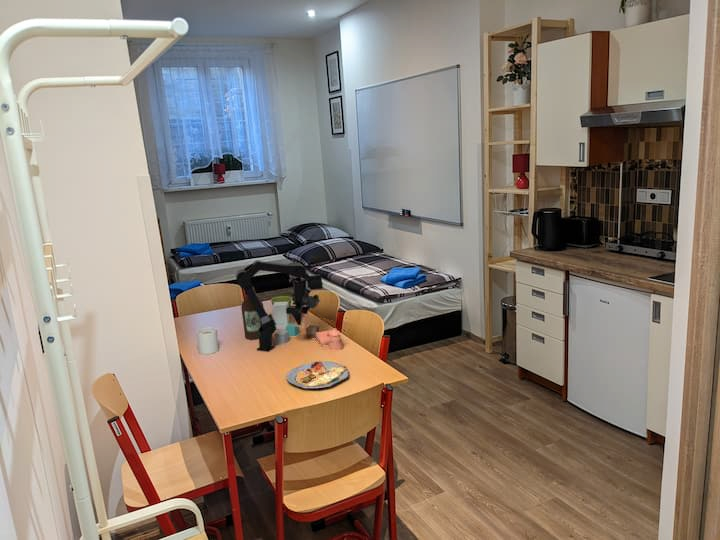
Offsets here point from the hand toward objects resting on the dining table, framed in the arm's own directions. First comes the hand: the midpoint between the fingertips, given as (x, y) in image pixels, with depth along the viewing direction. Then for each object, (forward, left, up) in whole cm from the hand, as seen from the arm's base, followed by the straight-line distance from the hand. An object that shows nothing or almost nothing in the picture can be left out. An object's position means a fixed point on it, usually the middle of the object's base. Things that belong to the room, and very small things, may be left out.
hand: (301, 323), depth 257 cm
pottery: (+3, -13, -11) cm, 17 cm away
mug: (-19, +39, -11) cm, 45 cm away
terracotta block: (0, 0, -1) cm, 1 cm away
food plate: (-33, -23, -11) cm, 42 cm away
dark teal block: (+11, +11, -10) cm, 19 cm away
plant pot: (+32, +28, -11) cm, 44 cm away
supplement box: (+20, +22, -11) cm, 32 cm away
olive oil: (+3, +28, -11) cm, 30 cm away
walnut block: (+11, 0, -10) cm, 15 cm away
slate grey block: (0, +11, -10) cm, 15 cm away
